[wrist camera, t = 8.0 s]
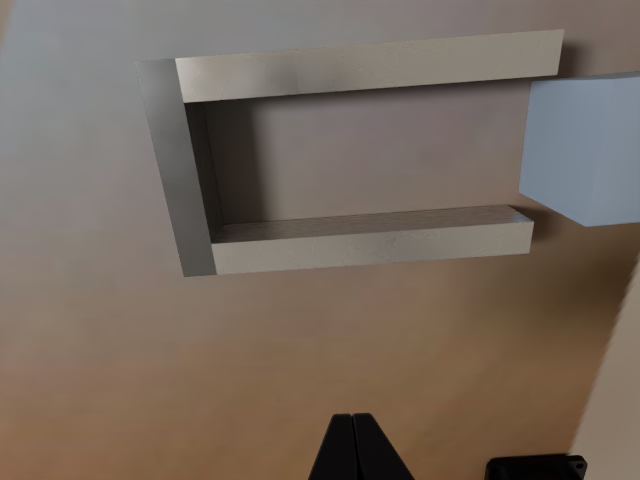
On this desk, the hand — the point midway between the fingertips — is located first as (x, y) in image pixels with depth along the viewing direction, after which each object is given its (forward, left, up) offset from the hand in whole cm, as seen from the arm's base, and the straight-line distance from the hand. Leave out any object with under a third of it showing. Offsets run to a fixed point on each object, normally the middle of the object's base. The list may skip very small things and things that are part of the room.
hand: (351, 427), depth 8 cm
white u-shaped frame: (-2, -4, -12) cm, 12 cm away
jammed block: (-13, -4, -12) cm, 18 cm away
